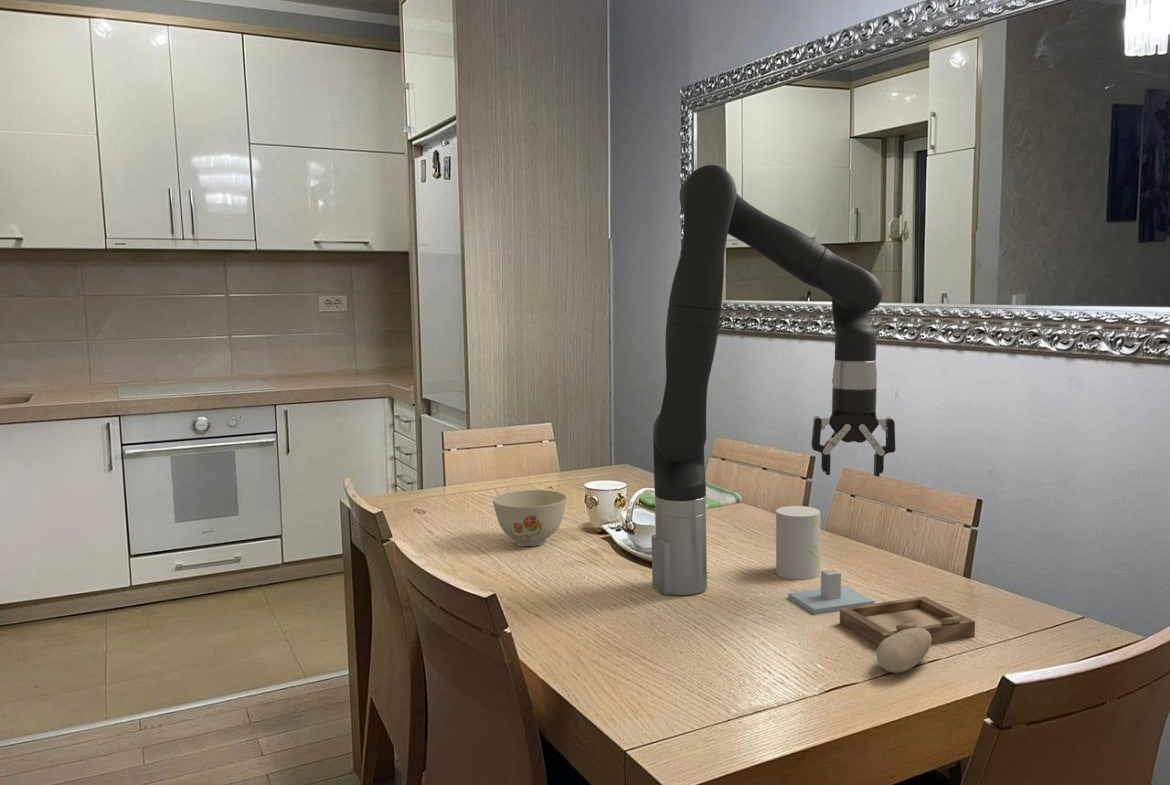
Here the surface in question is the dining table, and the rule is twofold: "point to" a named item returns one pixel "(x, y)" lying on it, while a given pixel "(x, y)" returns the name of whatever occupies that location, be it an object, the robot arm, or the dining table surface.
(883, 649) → the stone
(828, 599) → the panel with block handle
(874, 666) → the dining table surface
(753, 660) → the dining table surface
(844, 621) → the cabinet frame
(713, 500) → the dish towel
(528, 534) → the bowl
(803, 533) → the grey upright cylinder
